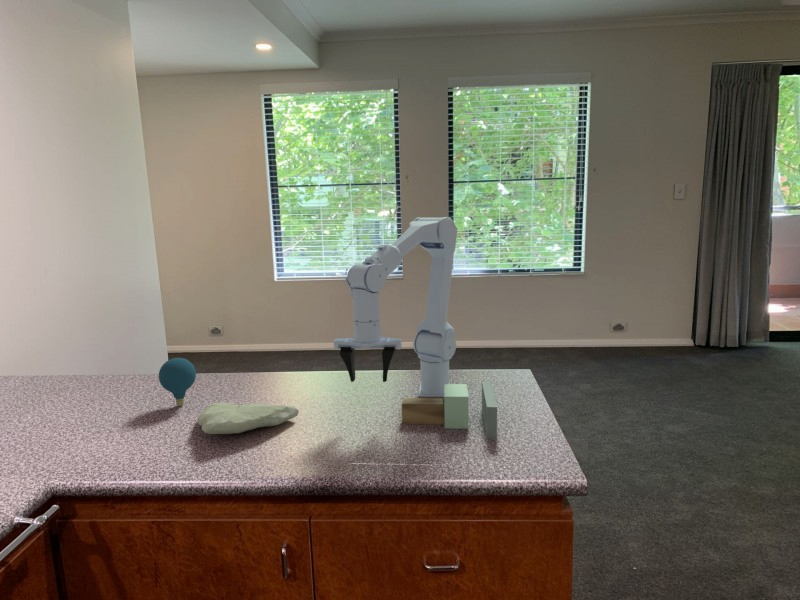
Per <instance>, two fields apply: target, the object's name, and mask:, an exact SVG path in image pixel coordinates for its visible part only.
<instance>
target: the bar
mask: <svg viewBox="0 0 800 600" xmlns="http://www.w3.org/2000/svg"><path fill="white" fill-rule="evenodd" d="M401 424H403V425H404V424H405V425H445V411H444V397H403V398H402V402H401Z"/></svg>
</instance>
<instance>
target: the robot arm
mask: <svg viewBox="0 0 800 600" xmlns="http://www.w3.org/2000/svg"><path fill="white" fill-rule="evenodd" d="M408 224H409V225H408V228H407V229H406V230H405V232H403V233H402V234H401V235H400V236H399V237H398V238H397V239H396V240H395V241H394V242H393V243H391V244H380V245H379V246H378V247H377V250H376V251H375V252H374V253H372V254H371V255H370V256H367V257H366V258H365V259H364V261H362V263H356V264H353V265H352V266H351V267H350V268H349V269H348V271H347V274H346V275H347V277H345V282H346V285H347V286H348V289H349V290H350V297H351V298H352V313H353V315H352V316H353V336H354V337H345V338H344V337H343V338H335V339H334V340H333V349H334V350H339V349H340V350H339V351H340V352H339V356H340V358H341V360H342V361H343V363H344V364H345V365H344V366H345V367H346V370H347V373H348V376H349V379H350V382H353V383H354V382H355V380H356V368H355V351H356V350H355V349H382V352H381V358H382V382H383V383H386V382H387V381H388V374H389V368H390V364H391V361H392V358H393V356H394V354H395V351H396V350H401V349H402V338H398V337H397V338H396V337H395V338H394V337H384V336H383V337H382V336H381V302H380V299H381V298H380V291H381V290H383V288H384V286H385V284H386V280H387V279H388V276H390V275H391V274H392V273H393V272H395V270H396V269H397V268H398V267H400V266H401V265H402V262H403V258H402V257H404V256H405V255H406V254H408V253H409V252H410V251H411V250H413V249H415V248H416V247H417V246H418V245H419V246H420V247H421V248H422V249H423V250H424V251H426V252H428V254H429V255H430V256H431V260H430V261H431V263H430V272H429V273H430V274H429V279H428V280H429V283H428V292H427V302H426V310H425V311H426V312H425V319H424V320H423V321H421V322H420V323H418V325H417V326H416V332H415V335H414V337H413V341H412V347H413V350H414V352H415V354H417V358H419V359H420V361H419V362H420V383H419V390H418V398H444V384H451V383H450V360H452V358H453V356H454V355H455V353H456V349H457V342H456V330H455V328H454V327H453V326H452V325H451V324H450V323H449V322H448V312H449V303H450V292H451V286H452V284H451V283H452V274H453V263H454V253H455V251H456V245H457V237H458V236H457V235H458V234H457V233H458V228H457V225H456V223H455V221H454V220H453V219H452V217H449V216H445V217H422V216H418V217H415V218H414V220H412V221H410V222H409V223H408Z"/></svg>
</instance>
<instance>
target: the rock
mask: <svg viewBox="0 0 800 600" xmlns="http://www.w3.org/2000/svg"><path fill="white" fill-rule="evenodd" d="M299 412H300V411H299V409H298V408H297V407H295V406H293V405H290V406H289V405H283V404H282V405H277V404H276V405H275V404H274V405H273V404H263V403H257V402H256V403H250V404H239V405H236V404H232V403H228V402H214V403H211V404H208V405H206V406H205V407H204V409H203V410H201V412H200V414H199V416H198V417H197V418H196V419H197V424H198V425H199V426H200V427H201V430H202V431H203V432H204V433H205V434H207V435H209V434H210V435H233V434H241V433H244V432H247V431H251V430H254V429H257V428H264V427H274V426H279V425H282V424H283V423H285V422H287V421H289V420H292V419H294V418H296V417H298V414H300V413H299Z"/></svg>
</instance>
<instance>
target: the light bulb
mask: <svg viewBox="0 0 800 600" xmlns="http://www.w3.org/2000/svg"><path fill="white" fill-rule="evenodd" d="M196 377H197V371H196V368H195V366H194V364H193V363H192V362H191V361H190V360H188V359H186V358H183V357H174V358H171V359H168V360H167V361H165V362H164V363H163V364H162V365H161V367H160V368H159V371H158V382H159V383H160V385H161V387H163V389H165V390H166V391H168V392H170V393H171V394H172V395H173V398H175V403H176V405H177V406H179V407H181V406H183V405H184V404H185V397H186V392H187V391H188V390H189V389H190V388H191V387H192V386H193V384H194V382H196Z"/></svg>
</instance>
